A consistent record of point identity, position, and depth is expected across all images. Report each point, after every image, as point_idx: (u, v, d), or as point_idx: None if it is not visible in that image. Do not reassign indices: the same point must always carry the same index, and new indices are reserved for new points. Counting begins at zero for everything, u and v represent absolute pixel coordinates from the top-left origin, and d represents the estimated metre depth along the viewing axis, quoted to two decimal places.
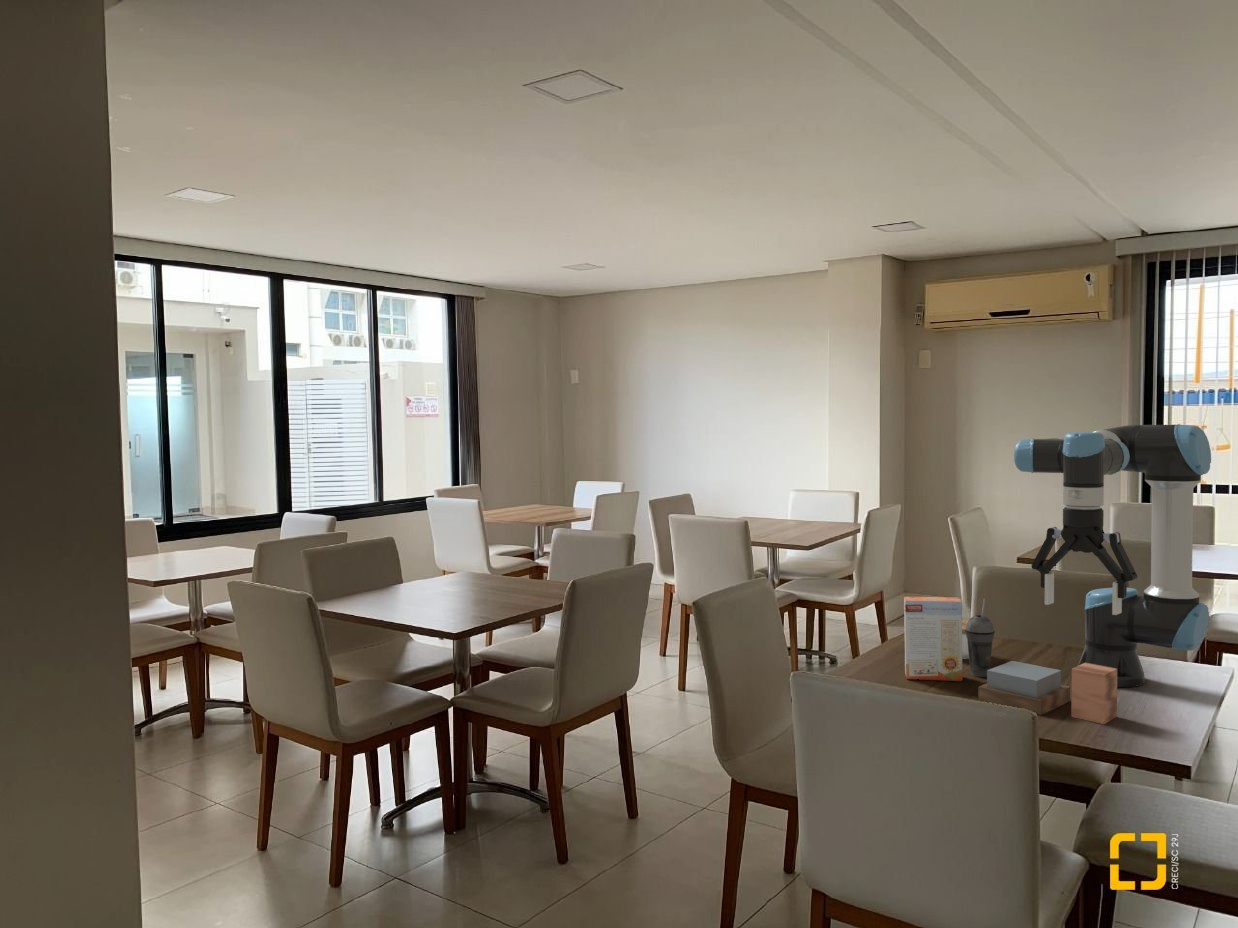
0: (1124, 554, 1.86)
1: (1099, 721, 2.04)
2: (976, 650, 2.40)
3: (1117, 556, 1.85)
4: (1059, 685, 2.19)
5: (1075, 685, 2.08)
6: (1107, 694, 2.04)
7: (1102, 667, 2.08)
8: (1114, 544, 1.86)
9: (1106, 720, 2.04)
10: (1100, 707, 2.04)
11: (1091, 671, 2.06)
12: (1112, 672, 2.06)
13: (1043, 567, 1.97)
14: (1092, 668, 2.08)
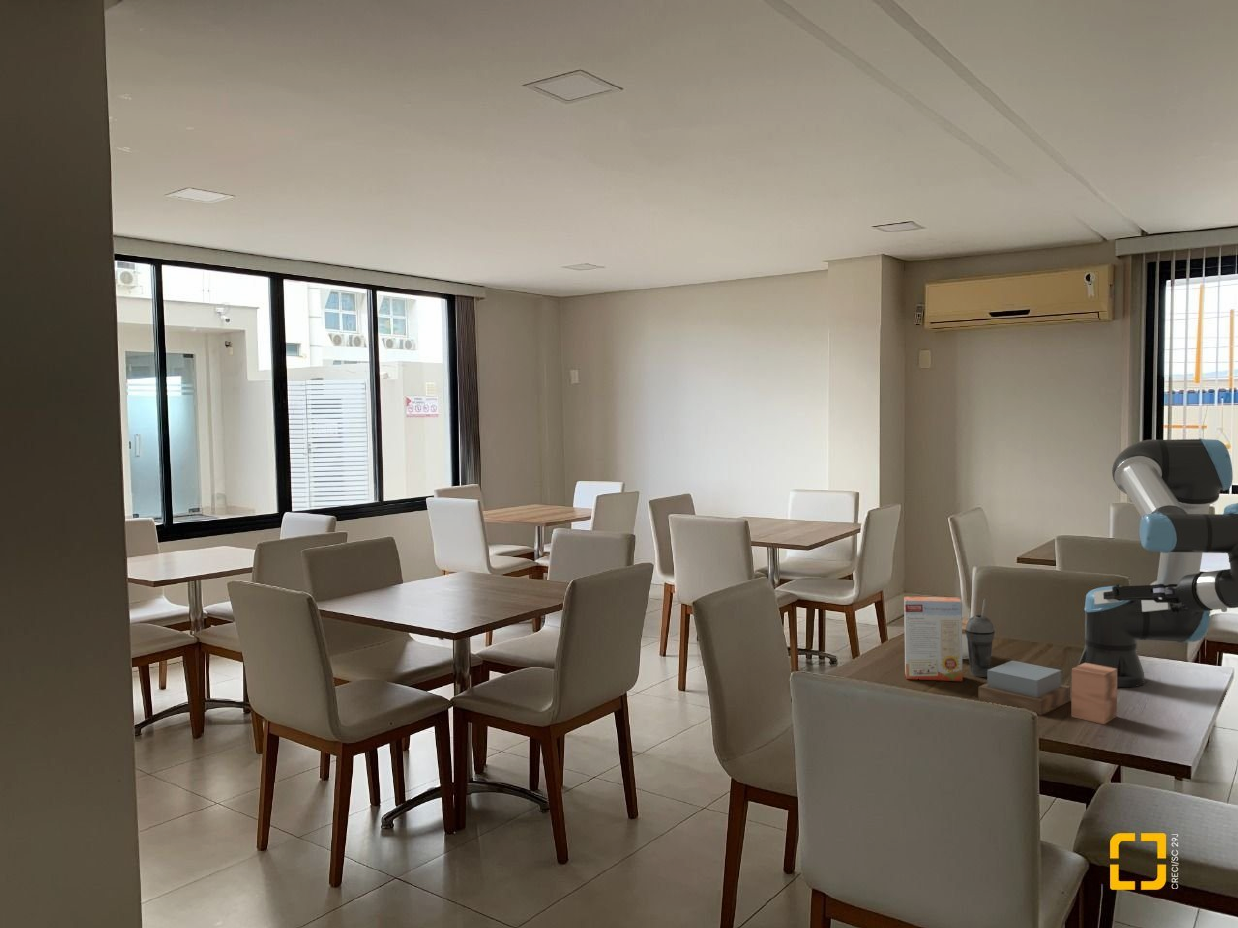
0: None
1: (1099, 721, 2.04)
2: (976, 650, 2.40)
3: None
4: (1060, 685, 2.19)
5: (1075, 685, 2.08)
6: (1107, 694, 2.04)
7: (1102, 667, 2.08)
8: None
9: (1106, 720, 2.04)
10: (1100, 707, 2.04)
11: (1091, 671, 2.06)
12: (1112, 672, 2.06)
13: (1123, 599, 1.94)
14: (1092, 668, 2.08)
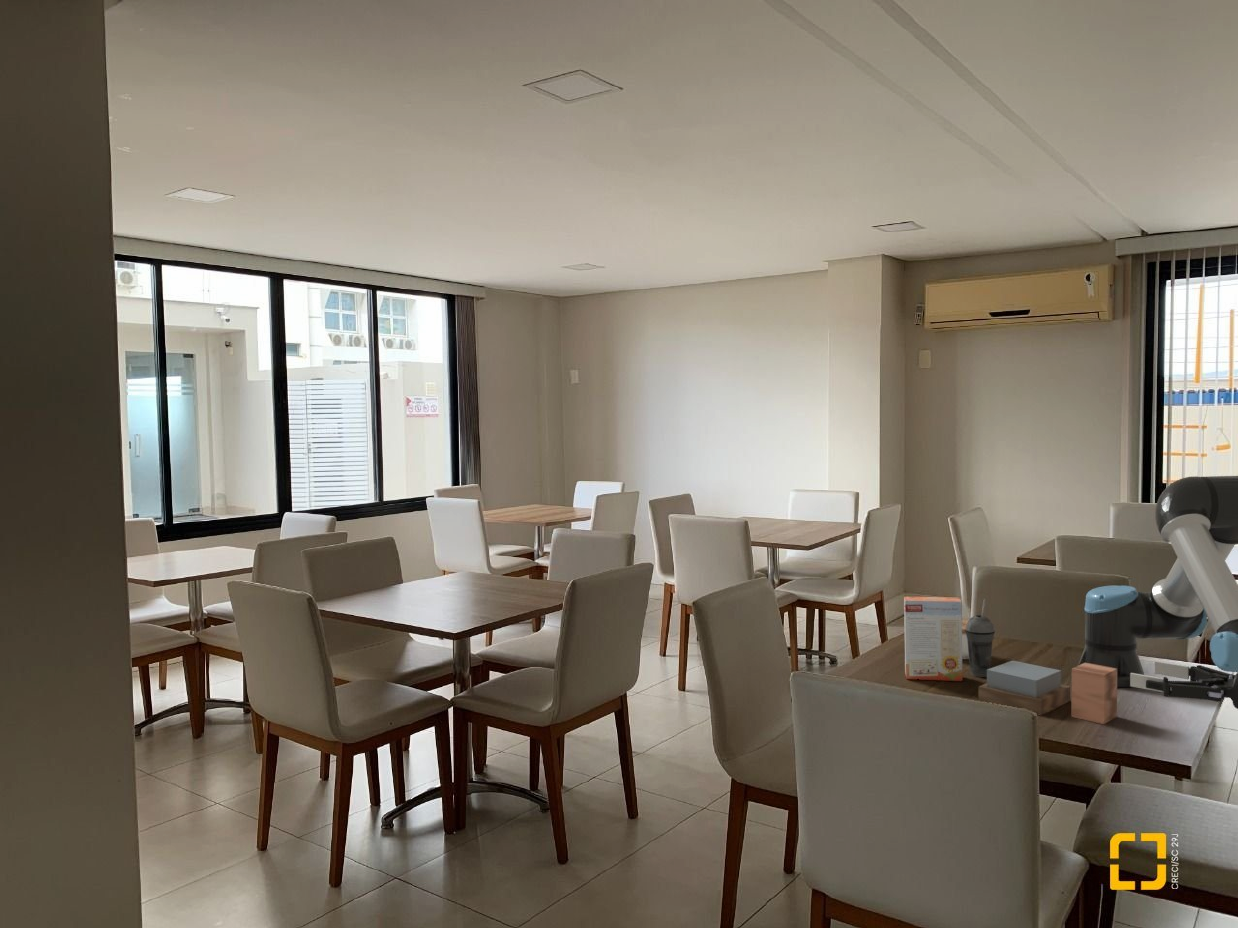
0: None
1: (1099, 721, 2.04)
2: (976, 650, 2.40)
3: None
4: (1059, 685, 2.19)
5: (1075, 685, 2.08)
6: (1107, 694, 2.04)
7: (1102, 667, 2.08)
8: None
9: (1106, 720, 2.04)
10: (1100, 707, 2.04)
11: (1091, 671, 2.06)
12: (1112, 672, 2.06)
13: None
14: (1092, 668, 2.08)
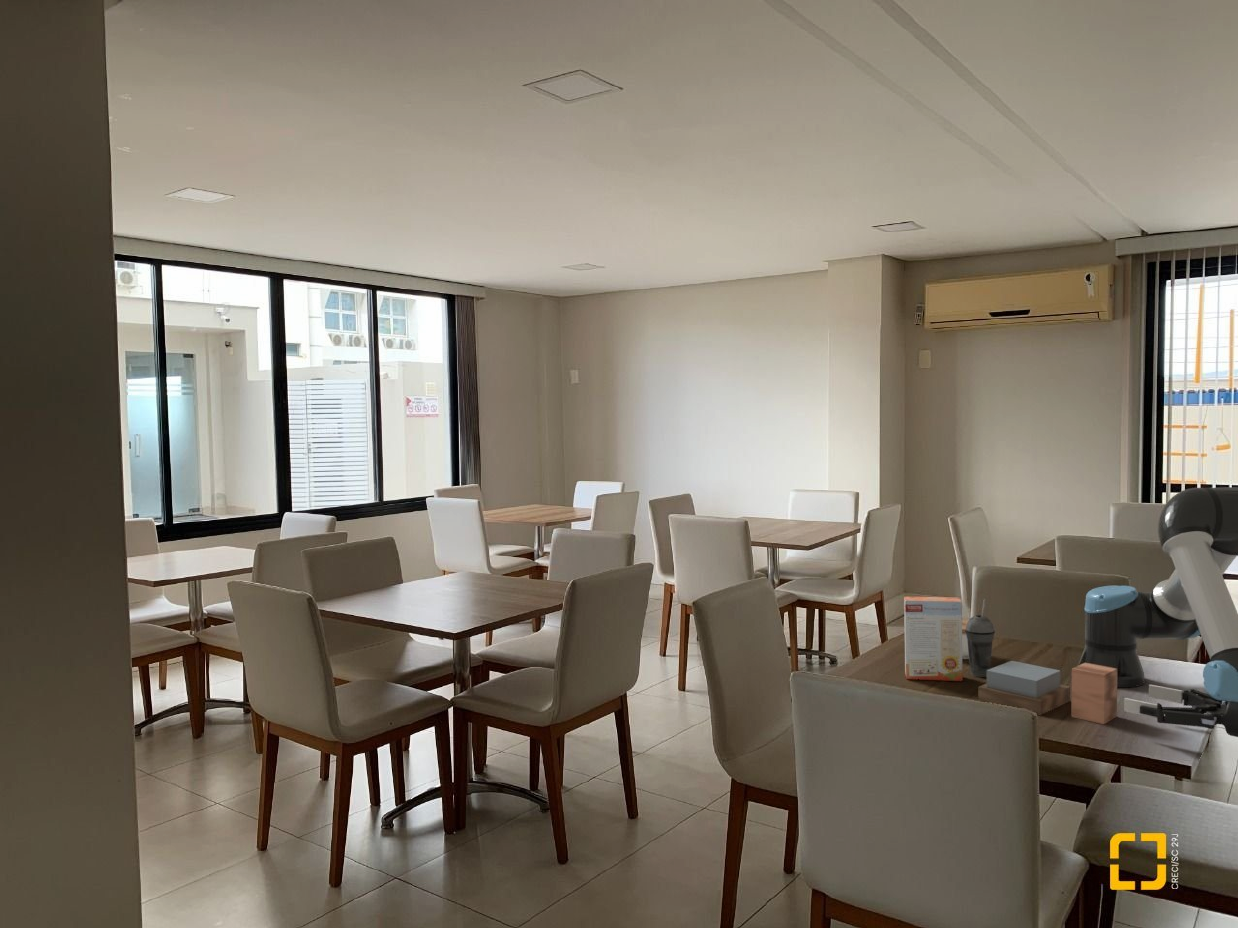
0: None
1: (1099, 721, 2.04)
2: (976, 650, 2.40)
3: None
4: (1059, 685, 2.19)
5: (1075, 685, 2.08)
6: (1107, 694, 2.04)
7: (1102, 667, 2.08)
8: None
9: (1106, 720, 2.04)
10: (1100, 707, 2.04)
11: (1091, 671, 2.06)
12: (1112, 672, 2.06)
13: None
14: (1092, 668, 2.08)
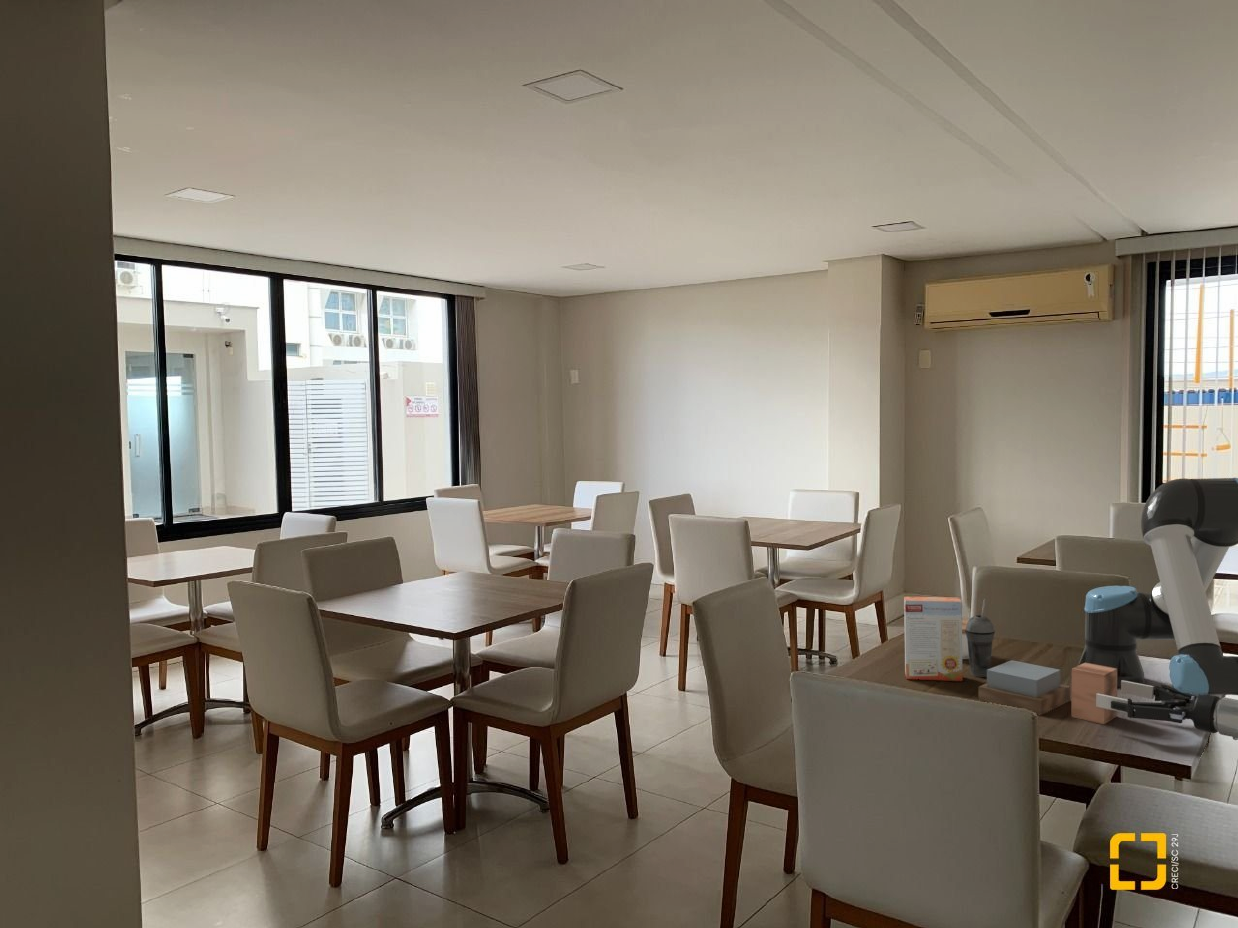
0: None
1: (1099, 721, 2.04)
2: (976, 650, 2.40)
3: None
4: (1059, 684, 2.19)
5: (1075, 685, 2.08)
6: (1107, 694, 2.04)
7: (1102, 667, 2.08)
8: None
9: (1106, 720, 2.04)
10: (1100, 707, 2.04)
11: (1091, 671, 2.06)
12: (1112, 672, 2.06)
13: None
14: (1092, 668, 2.08)
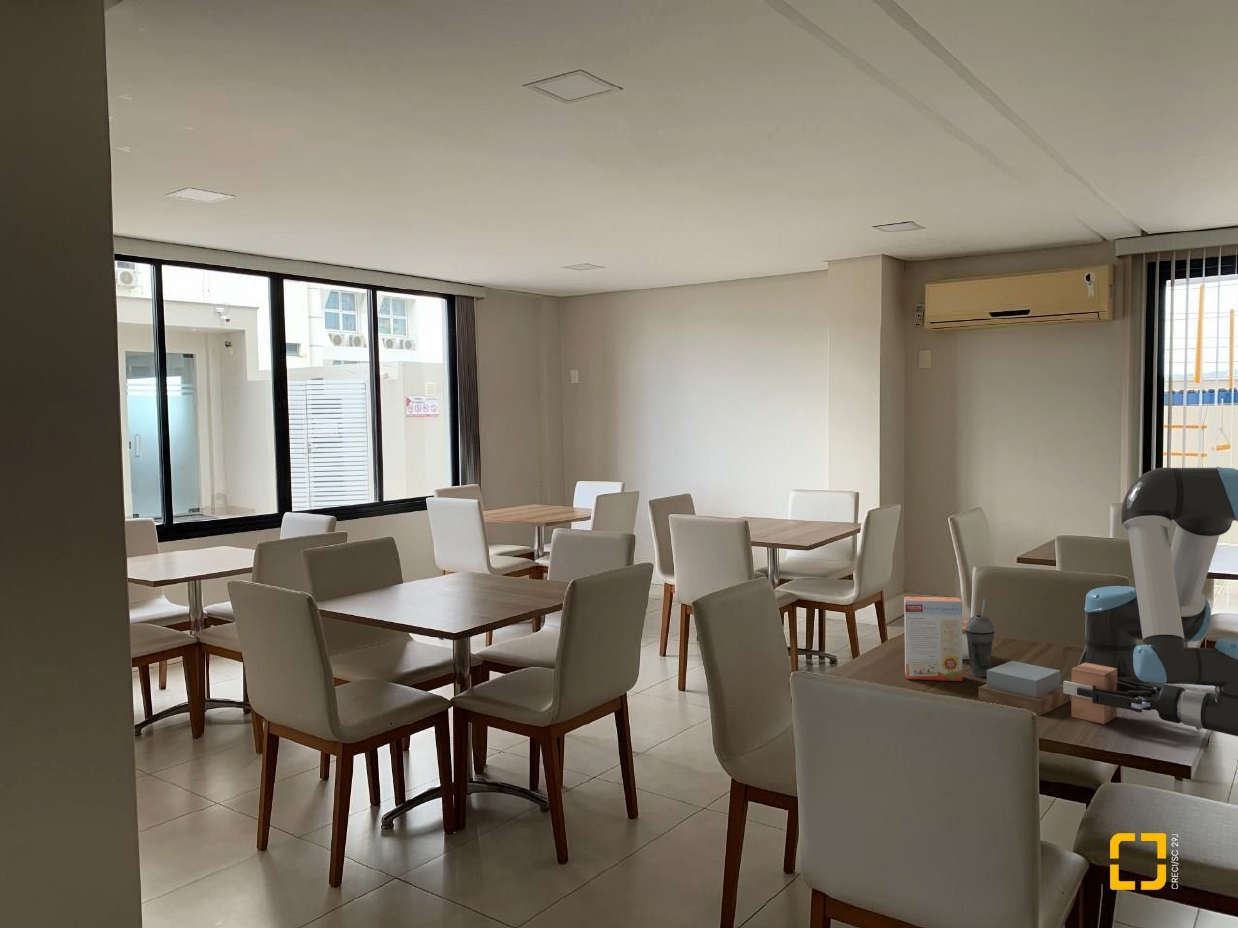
0: None
1: (1099, 721, 2.04)
2: (976, 650, 2.40)
3: None
4: (1059, 685, 2.19)
5: None
6: None
7: (1102, 667, 2.08)
8: None
9: (1106, 720, 2.04)
10: (1100, 707, 2.04)
11: (1091, 671, 2.06)
12: (1112, 672, 2.06)
13: None
14: (1092, 668, 2.08)
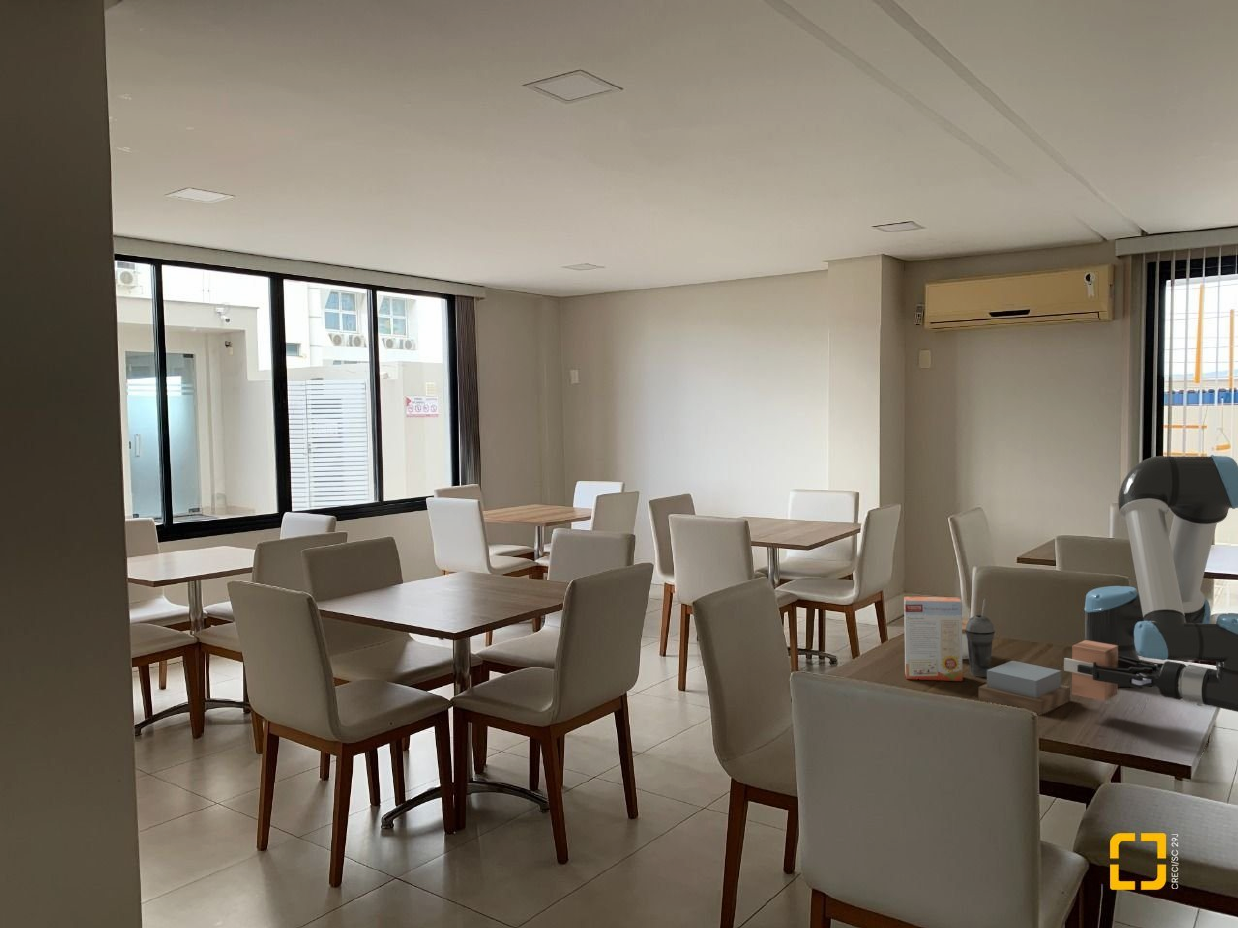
0: None
1: (1100, 698, 2.03)
2: (976, 650, 2.40)
3: None
4: (1059, 685, 2.19)
5: None
6: None
7: (1103, 644, 2.08)
8: None
9: (1107, 697, 2.04)
10: (1101, 684, 2.03)
11: (1092, 648, 2.05)
12: (1113, 649, 2.05)
13: None
14: (1093, 645, 2.07)
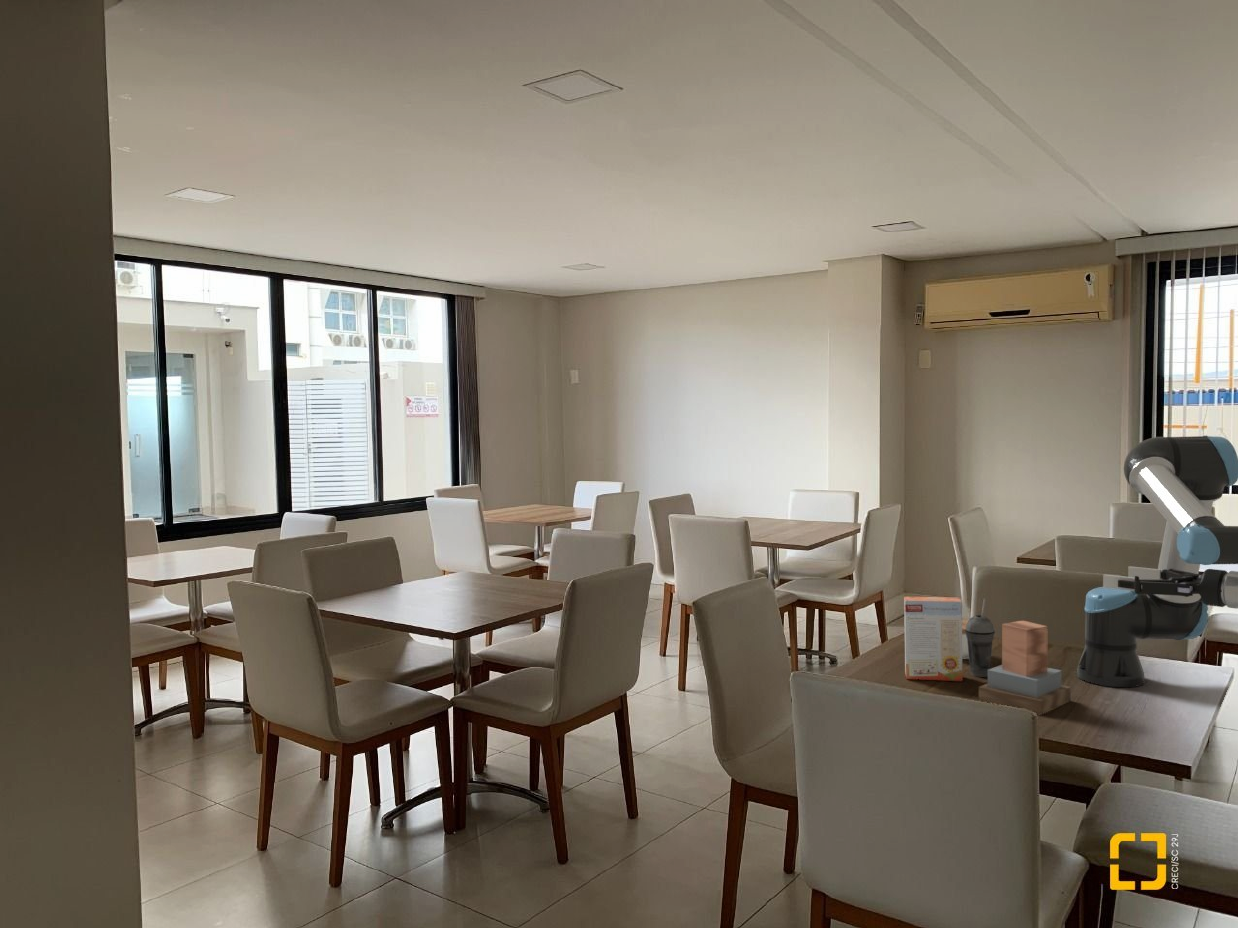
0: None
1: (1022, 673, 2.16)
2: (976, 650, 2.40)
3: None
4: (1060, 685, 2.19)
5: (1004, 639, 2.20)
6: (1031, 648, 2.15)
7: (1034, 624, 2.19)
8: None
9: (1030, 673, 2.16)
10: (1023, 660, 2.16)
11: (1018, 626, 2.18)
12: (1039, 629, 2.16)
13: (1141, 591, 1.94)
14: (1022, 624, 2.19)
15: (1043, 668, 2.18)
